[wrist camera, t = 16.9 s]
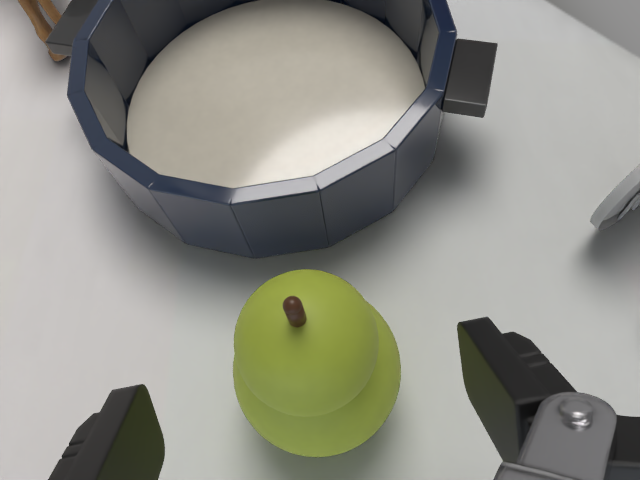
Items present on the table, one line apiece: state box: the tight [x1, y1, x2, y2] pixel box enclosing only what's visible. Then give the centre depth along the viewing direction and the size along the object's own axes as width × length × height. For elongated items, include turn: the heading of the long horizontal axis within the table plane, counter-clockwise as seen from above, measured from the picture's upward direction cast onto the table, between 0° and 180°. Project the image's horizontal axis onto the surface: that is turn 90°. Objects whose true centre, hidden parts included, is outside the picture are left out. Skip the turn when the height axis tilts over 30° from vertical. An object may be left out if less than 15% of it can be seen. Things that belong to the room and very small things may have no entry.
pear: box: [233, 269, 401, 457], centre depth 18 cm, size 6×6×10 cm
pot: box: [45, 0, 498, 258], centre depth 27 cm, size 21×18×5 cm
